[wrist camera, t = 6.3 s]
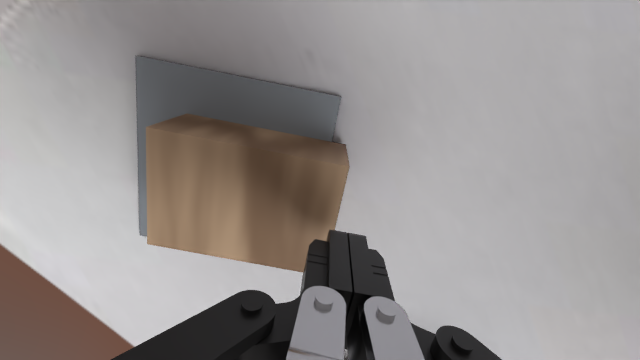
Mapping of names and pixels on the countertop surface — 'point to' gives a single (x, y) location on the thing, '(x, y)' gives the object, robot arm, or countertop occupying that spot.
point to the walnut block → (241, 190)
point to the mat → (223, 106)
